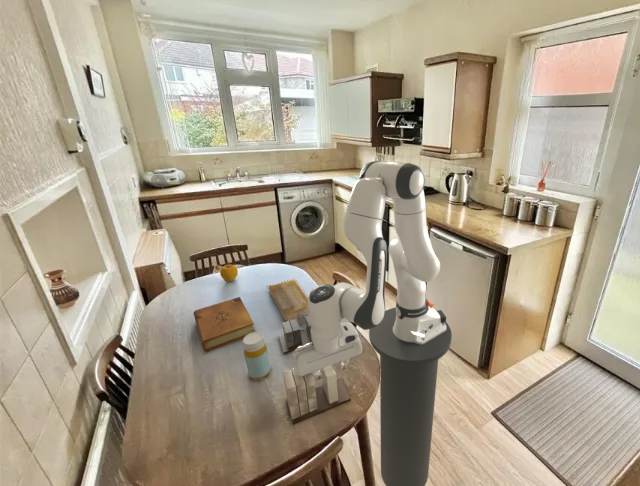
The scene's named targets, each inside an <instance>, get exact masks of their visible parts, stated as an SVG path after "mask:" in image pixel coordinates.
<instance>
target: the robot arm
mask: <svg viewBox="0 0 640 486" xmlns="http://www.w3.org/2000/svg"><path fill="white" fill-rule="evenodd" d="M425 180H426V179H425V174H424V172H423V170H422V169H421V167H420V166H418V165H416V164H414V163H410V162H401V161H395V160H390V161H379V160H375V161H370V162H367V163H365V164H364V165H363V166H362V168H361V170H360V172H359V176H358V180H356V181H355V183H354V185H353V187H352V189H351V193H350V195H349V199H348V201H347V204H346V208H345V213H344V217H343V218H344V219H343V233H344V236H345V237H346V238H347V240H348V241H349V243H350V244H351V245H352V246H354V247H355V248H356V249H357V250H358V251H359V252H360V253H361V254H362V256H363V257H364V259H365V262H366V280H365V290H364V289H361V288H359V287H358V286H356V285H353V284H351V283H348V282H345V281H341V282H337V283H336V284H334V285H331V284H327V283H325V284H320V285H317V286H315V287H314V288H312V290H311V291H310V292H309V294H308V296H307V297H308V311H307V315H308V317H309V322H310V324H311V338H312V343H309V344H306V345H304V346H300V347H298V348H297V349H296V350H295V351H293V352H291V358H292V361H294V368H295V369H296V372H297V375H299V376H304V375H307V374H309V373H312V375H313V377H315V380H316V381H318V380H322V374H321V369H322V368H325V367H328V366H330V365H332V366H333V365H335V364H338V363H340V368H341V370H342V371H345V370H347V369H348V365H349V363H350V360H351V358H354V357H356V356H359V355H361V353H362V352H363V344H362V341H361V339H360V336H359V333H358V331H357V329H356V328H355V326H354V325H356V326H357V327H359V328H360V329H362V330H364V331H367V330H368V331H369V329H371V328H374V327H376V326H378V325H379V324H380V323H381V322H382V320H383V318H384V315H385V311H386V299H385V291H386V278H387V276H386V275H387V265H388V264H387V262H388V254H389V256H390V258H391V261H392V265H393V270H394V274H395V280H396V287H397V288H396V290H397V291H396V296H397V297H396V300H395V308H396V320H395V323H394V326H393V333H394V335H395V336H396V337H397V338H399V339H400V340H403V341H406V342H414V343H417V344H420V345H423V344H424V343H426V342H428V341H429V340H431V339H433V338H434V337H436V336H438V335H439V334H441V333H443V332H444V331H446V325H445V323H444V322H447V316H446V315H445V313H444V312H443V311H442V309H438V310H436V309H435V308H434V306H435V304H434V303H433V302H432V301H431V300H430V301H429V300H428V299H427V297H426V293H427V284H426V283H429V282H431V281H433V280H434V279H435V278H436V277H438V275H439V273H440V271H441V261H440V260H439V258H438V257H437V255H436V253H435V250H434V248H433V244H432V241H431V238H430V235H429V232H428V231H429V230H428V224H427V208H426V207H427V205H426V197H425V191H424V187H425V183H426V182H425ZM389 198H390V199H391V198H392V199H393V200H392V205H393V216H394V217H393V218H394V227H395V229H394V230H395V233H396V235H397V236H396V237H394V238H393V239H392V240H391V241H390V242H389V245H387V242H386V240H385V239H384V236H383V229H382V228H383V219H384V215H385V207H386V201H387V200H388V199H389ZM344 319H345V320H347V322H342V321H343V320H344ZM348 321H349V322H348ZM352 323H353V324H354V325H353V324H352Z"/></svg>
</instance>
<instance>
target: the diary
mask: <svg viewBox="0 0 640 486" xmlns="http://www.w3.org/2000/svg"><path fill="white" fill-rule="evenodd" d="M193 317H194V321H195V325H196V329H197V333H198V337H199V340H200V344H201V347H202V350H203V353H206V354H207V353H209V352H212V351H214V350H217V349H220V348H222V347H225V346H228V345H230V344H233V343H235V342H238V341H241V340H243V339H244V337H245V336H246V335H248V334H250V333H253V332H256V331H255V329H254V327H253V326H254V325H255V324H254V322H253V318H252V317H251V315H250V313H249V312H248V310H247V308H246V306H245V304H244V302H243V300H242V298H241V296H238V297H234V298H231V299H227V300H224V301H221V302H217V303H215V304H212V305H208V306H205V307H202V308H199V309H196V310H194V311H193Z"/></svg>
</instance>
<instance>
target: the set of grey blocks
mask: <svg viewBox="0 0 640 486" xmlns="http://www.w3.org/2000/svg"><path fill="white" fill-rule="evenodd" d="M304 316H305V323H304V324H305V328H302V329H301V328H300V325H298V322H297V320H296V318H293V320H292V319H291V321H290V322H289V321H287V322H286V321H284V322H282V325H281V326H282V330H283V335H280V336H278V339H279V343H280V346H281V349H282V353H283V355H287V354H290V353H293V352H294V351H295V350H296V349H297V348H298V347H300V346H304V345H306V344H309V343H312V338H311V324H310V322H309V317H308V316H306V315H304Z"/></svg>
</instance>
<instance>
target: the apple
mask: <svg viewBox="0 0 640 486" xmlns="http://www.w3.org/2000/svg"><path fill="white" fill-rule="evenodd" d="M238 271H239V270H238V267H236V265H234V264H230V263H229V264H225V265H224V266H222V267H220V271H219V274H220V275H219V276H220V277H221V278H222V280H223V281H225V282H227V283H231V282H233V281H234V280H236V278H237V277H238V273H239V272H238Z"/></svg>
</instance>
